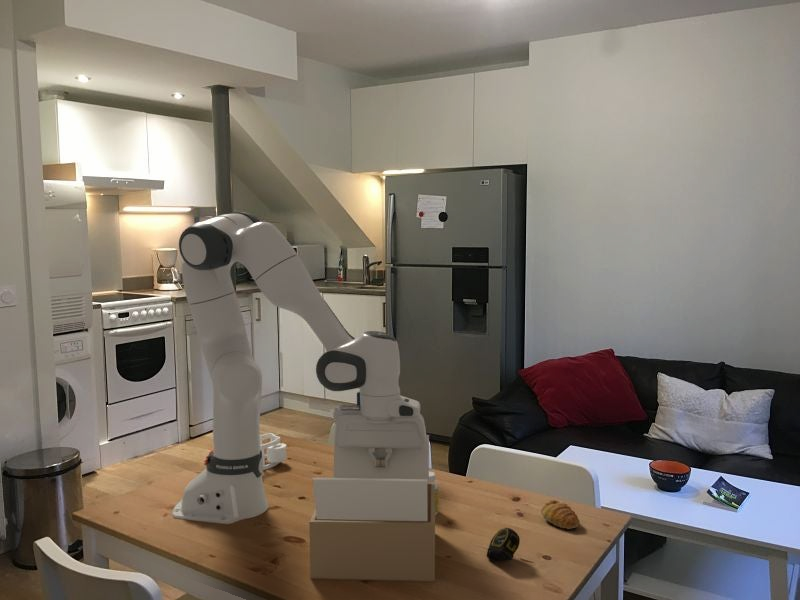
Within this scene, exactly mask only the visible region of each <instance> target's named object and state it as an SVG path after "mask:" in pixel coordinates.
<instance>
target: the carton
mask: <svg viewBox="0 0 800 600" xmlns="http://www.w3.org/2000/svg"><path fill="white" fill-rule="evenodd" d="M427 513H428V521H387V520H335V519H317V515H316V507H315V508H314V510H313V513H312V515H311V518H310V520H309V522H308V523H309V525H308V526H309V529H308V530H309V566H310V567H309V576H310V578H309V579H312V580H313V579H315V580H345V581H348V580H349V581H351V580H352V581H378V580H385V582H387V581H388V582H414V581H420V582H423V583H428V582H427V581H431V582H430V583H435V581H436V577H435V576H436V571H435V570H436V515H435V482H427Z"/></svg>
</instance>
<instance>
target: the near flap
mask: <svg viewBox="0 0 800 600" xmlns="http://www.w3.org/2000/svg"><path fill="white" fill-rule="evenodd" d="M312 484H313V485H312V487H313V496H314V503H315V508H316V515H317V519H335V520H387V521H428V513H427V479H371V478H333V477H312Z"/></svg>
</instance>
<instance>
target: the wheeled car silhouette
mask: <svg viewBox="0 0 800 600" xmlns="http://www.w3.org/2000/svg"><path fill="white" fill-rule="evenodd" d="M263 439H264V440H265V439H269V441H270V442H267V443H263ZM265 449H266V454H265ZM260 450H261V451H262V457H263V471H265V470H269V469H271V468H274V467H275V466H277V465H278V464H280V463H281V462H285V461H286V460H287V444H286V443H283V442H281V437H280V436H277V435H276V434H274V433H272V432H271V433H270V432H269V433H265V434H260ZM265 461H267V462H268V464H266V463H265Z"/></svg>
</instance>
